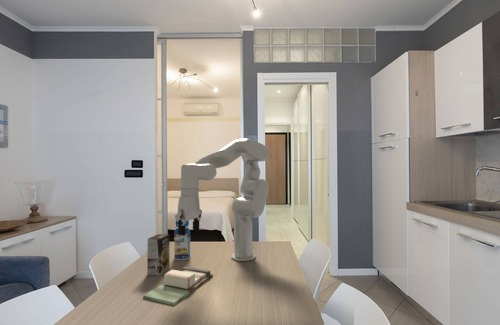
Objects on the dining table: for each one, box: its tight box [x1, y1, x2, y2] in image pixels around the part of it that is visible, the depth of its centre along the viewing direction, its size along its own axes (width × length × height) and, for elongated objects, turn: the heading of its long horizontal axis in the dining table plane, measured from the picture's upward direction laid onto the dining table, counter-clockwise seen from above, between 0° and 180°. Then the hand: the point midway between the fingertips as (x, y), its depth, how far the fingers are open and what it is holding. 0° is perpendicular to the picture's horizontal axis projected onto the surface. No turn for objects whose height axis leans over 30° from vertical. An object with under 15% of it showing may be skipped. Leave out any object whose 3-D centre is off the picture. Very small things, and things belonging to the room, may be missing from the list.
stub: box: [163, 269, 195, 289], centre depth 105 cm, size 5×11×4 cm, turn 68°
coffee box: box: [146, 233, 171, 277], centre depth 122 cm, size 9×6×16 cm
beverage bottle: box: [173, 220, 191, 261], centre depth 140 cm, size 8×8×20 cm
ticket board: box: [142, 266, 214, 306], centre depth 106 cm, size 26×14×3 cm, turn 158°
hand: (189, 232), depth 113 cm, fingers open, 9 cm apart
